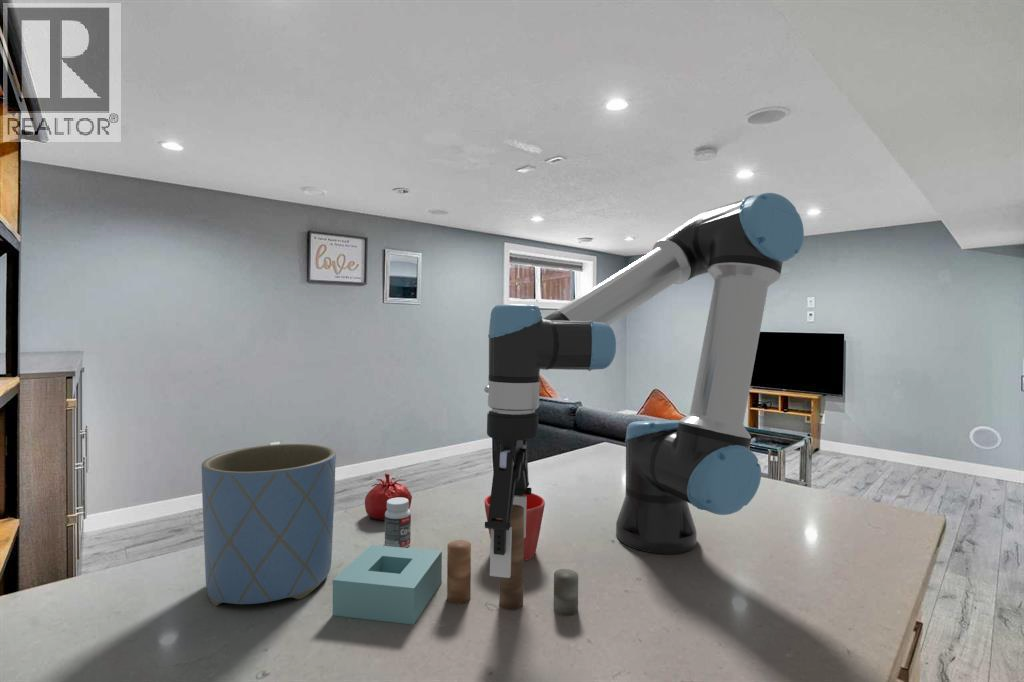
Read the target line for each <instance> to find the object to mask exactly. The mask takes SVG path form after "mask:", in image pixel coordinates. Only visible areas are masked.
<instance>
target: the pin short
mask: <svg viewBox="0 0 1024 682" xmlns="http://www.w3.org/2000/svg"><path fill="white" fill-rule="evenodd" d="M553 610H554V612H555V613H556V614H558V615H561V616H564V617H565V616H566V617H569V616H573V615H575V614H577V613H578V610H579V573H578V572H577V571H576V570H573V569H570V568H561V569H557V570H555V571H554V573H553Z"/></svg>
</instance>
